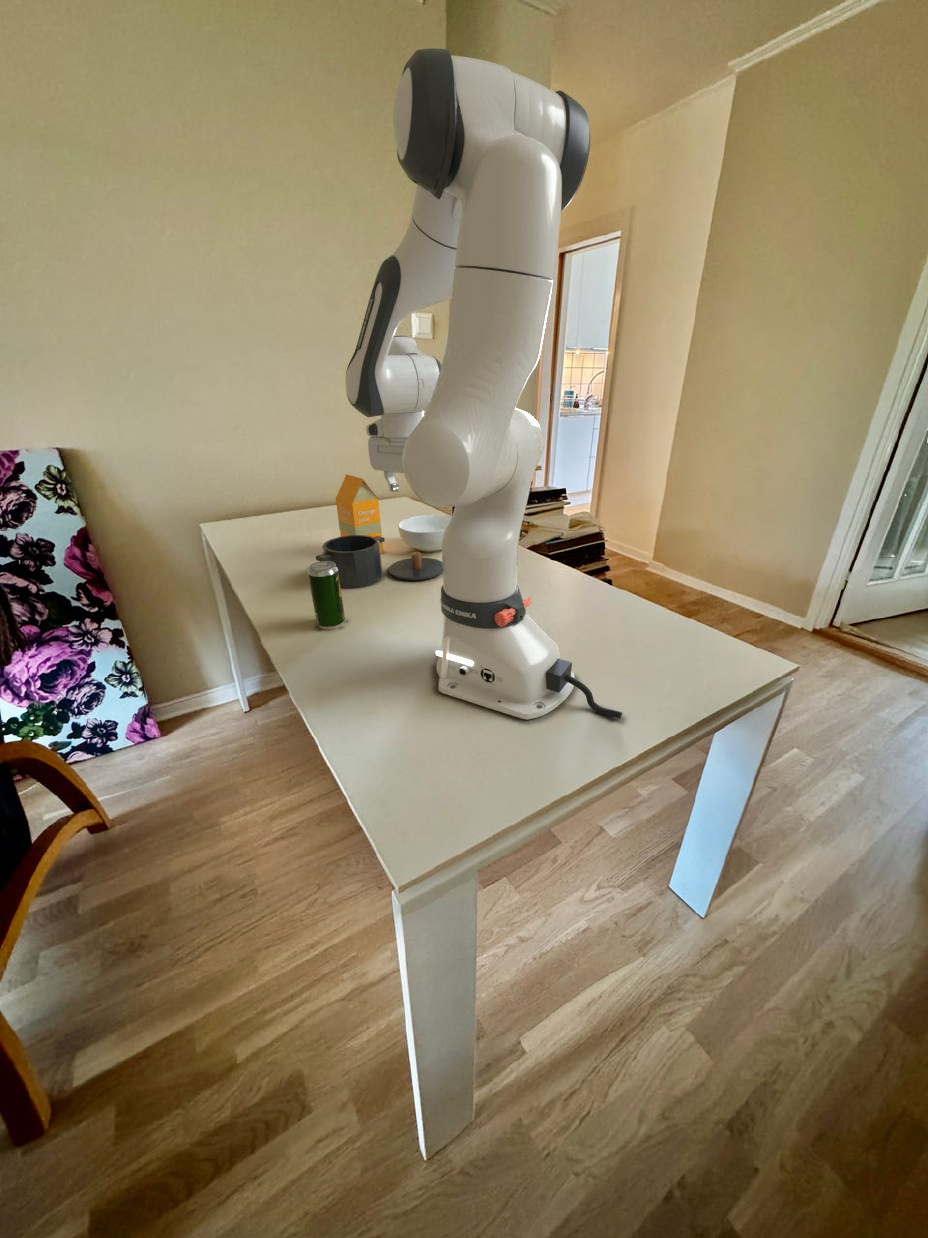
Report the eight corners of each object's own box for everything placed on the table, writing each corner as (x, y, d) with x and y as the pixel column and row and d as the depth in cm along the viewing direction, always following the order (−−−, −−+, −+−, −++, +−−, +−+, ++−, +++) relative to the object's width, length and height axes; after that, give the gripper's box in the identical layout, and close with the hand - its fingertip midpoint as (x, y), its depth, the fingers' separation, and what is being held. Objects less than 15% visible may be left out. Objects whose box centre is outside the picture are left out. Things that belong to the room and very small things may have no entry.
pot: (401, 572, 116) (398, 538, 113) (341, 597, 104) (335, 560, 100) (367, 561, 124) (364, 529, 120) (307, 583, 111) (301, 548, 108)
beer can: (322, 633, 90) (312, 573, 84) (313, 622, 94) (303, 564, 88) (349, 625, 92) (341, 567, 87) (339, 615, 96) (331, 558, 91)
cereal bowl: (427, 534, 143) (425, 510, 140) (472, 544, 135) (472, 519, 131) (387, 550, 131) (385, 524, 128) (434, 562, 122) (433, 535, 119)
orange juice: (358, 559, 125) (349, 481, 116) (342, 551, 131) (331, 476, 122) (384, 552, 130) (376, 476, 120) (367, 544, 135) (358, 472, 126)
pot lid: (456, 569, 118) (456, 551, 116) (417, 587, 108) (416, 568, 106) (417, 557, 125) (415, 540, 123) (377, 573, 116) (375, 555, 114)
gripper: (450, 426, 96) (453, 496, 102) (382, 424, 108) (389, 486, 114) (428, 430, 92) (433, 502, 98) (360, 426, 104) (368, 491, 110)
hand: (408, 493), depth 106 cm, fingers open, 8 cm apart
